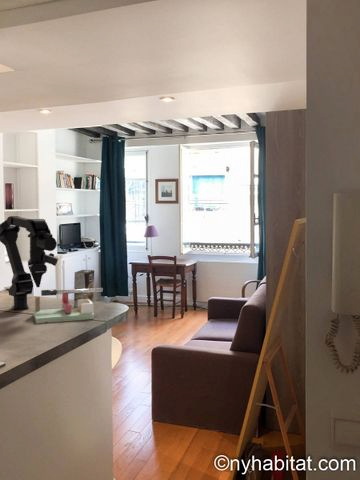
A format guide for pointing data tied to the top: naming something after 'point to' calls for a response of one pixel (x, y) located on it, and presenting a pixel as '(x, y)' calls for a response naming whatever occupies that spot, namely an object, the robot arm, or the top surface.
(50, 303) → the top surface
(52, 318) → the foosball frame
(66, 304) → the rod
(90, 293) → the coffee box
